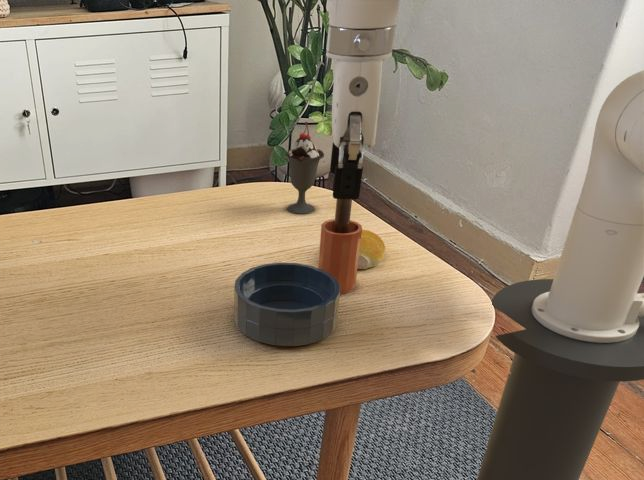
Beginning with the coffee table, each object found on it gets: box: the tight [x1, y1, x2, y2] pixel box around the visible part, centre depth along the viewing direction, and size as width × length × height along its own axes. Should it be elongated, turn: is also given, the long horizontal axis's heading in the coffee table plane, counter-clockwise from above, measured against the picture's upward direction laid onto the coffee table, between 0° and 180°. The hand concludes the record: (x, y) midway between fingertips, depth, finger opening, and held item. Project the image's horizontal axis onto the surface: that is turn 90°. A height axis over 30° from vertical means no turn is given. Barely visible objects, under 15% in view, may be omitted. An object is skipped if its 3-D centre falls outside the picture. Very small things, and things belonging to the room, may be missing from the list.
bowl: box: [233, 262, 341, 347], centre depth 84 cm, size 13×13×6 cm
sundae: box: [284, 121, 325, 215], centre depth 113 cm, size 7×7×15 cm
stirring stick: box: [334, 199, 353, 233], centre depth 88 cm, size 2×2×16 cm
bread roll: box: [357, 229, 386, 270], centre depth 99 cm, size 8×9×4 cm
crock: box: [317, 218, 363, 295], centre depth 90 cm, size 5×6×9 cm
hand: (343, 184), depth 85 cm, fingers open, 9 cm apart
